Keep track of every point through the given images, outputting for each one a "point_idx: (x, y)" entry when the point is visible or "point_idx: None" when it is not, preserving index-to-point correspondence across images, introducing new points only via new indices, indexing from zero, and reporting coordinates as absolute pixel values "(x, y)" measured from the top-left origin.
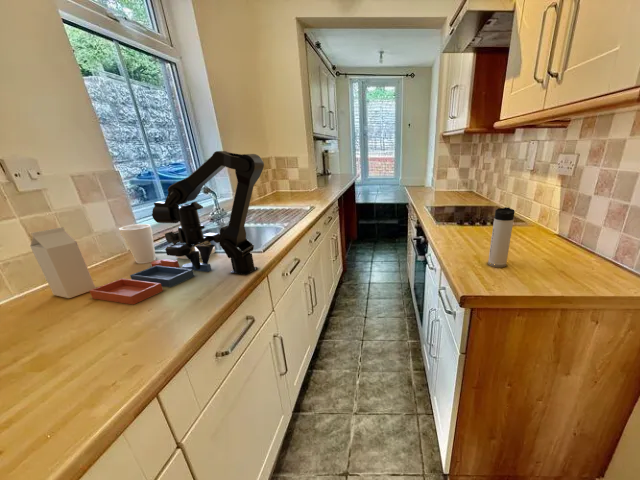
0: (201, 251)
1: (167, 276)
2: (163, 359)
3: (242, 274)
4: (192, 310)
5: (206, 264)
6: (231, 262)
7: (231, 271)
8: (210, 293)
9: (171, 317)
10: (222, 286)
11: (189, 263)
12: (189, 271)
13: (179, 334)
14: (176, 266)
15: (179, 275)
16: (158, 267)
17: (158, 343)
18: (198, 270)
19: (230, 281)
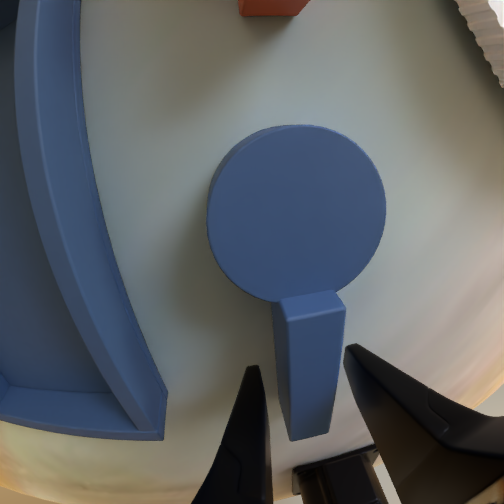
0: (429, 461)
1: (12, 242)
2: (14, 488)
3: (292, 487)
4: (56, 488)
5: (310, 428)
6: (331, 499)
7: (302, 471)
8: (120, 493)
9: (18, 471)
10: (174, 496)
11: (353, 164)
12: (129, 436)
13: (30, 490)
14: (256, 9)
15: (52, 431)
16: (25, 6)
17: (6, 478)
18: (274, 330)
19: None
